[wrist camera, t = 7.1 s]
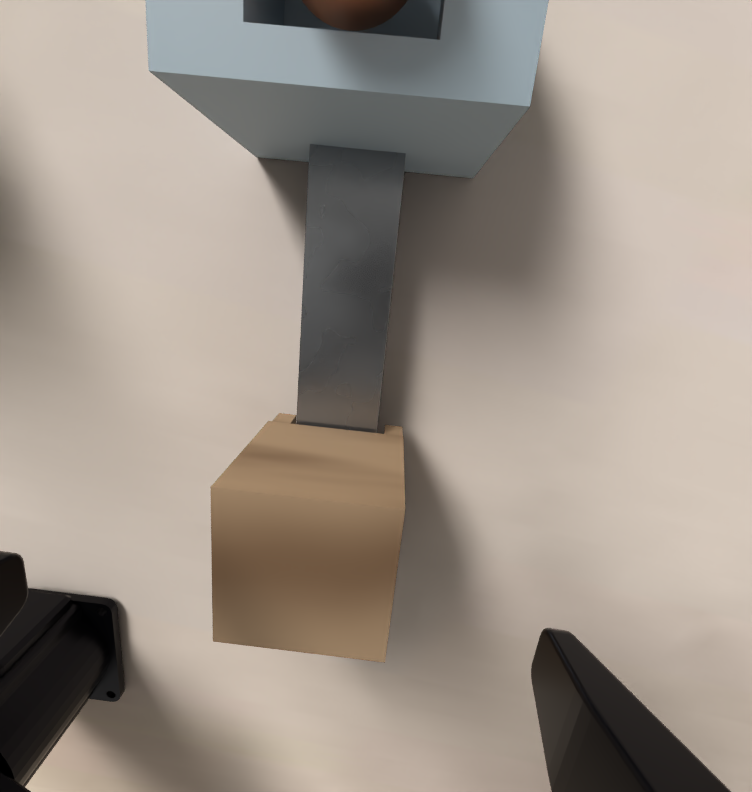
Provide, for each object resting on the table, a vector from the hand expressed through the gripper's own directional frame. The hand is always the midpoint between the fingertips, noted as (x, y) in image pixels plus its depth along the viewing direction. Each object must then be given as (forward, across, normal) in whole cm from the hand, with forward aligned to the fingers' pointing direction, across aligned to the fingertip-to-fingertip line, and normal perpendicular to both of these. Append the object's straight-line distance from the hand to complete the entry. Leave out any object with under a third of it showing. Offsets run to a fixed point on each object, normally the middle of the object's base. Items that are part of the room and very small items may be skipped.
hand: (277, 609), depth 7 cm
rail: (+11, 0, -1) cm, 11 cm away
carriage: (+10, 0, +3) cm, 11 cm away
